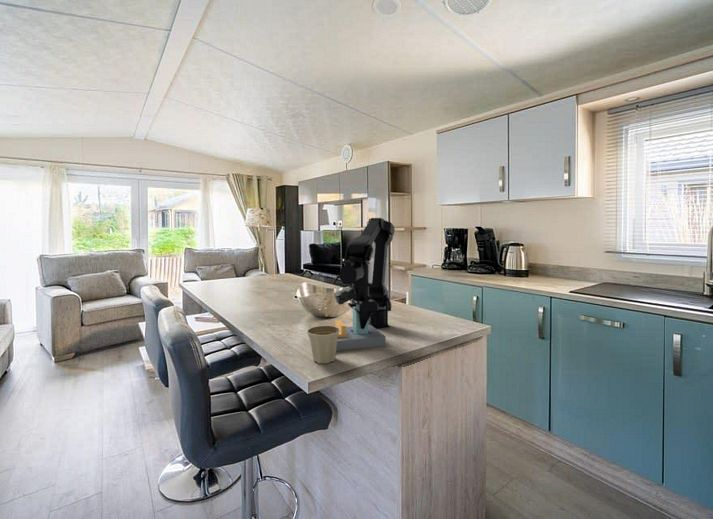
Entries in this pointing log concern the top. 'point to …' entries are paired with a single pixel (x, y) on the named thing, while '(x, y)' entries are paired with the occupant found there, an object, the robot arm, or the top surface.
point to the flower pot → (323, 343)
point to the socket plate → (360, 339)
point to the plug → (358, 324)
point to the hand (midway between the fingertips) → (360, 326)
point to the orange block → (341, 328)
